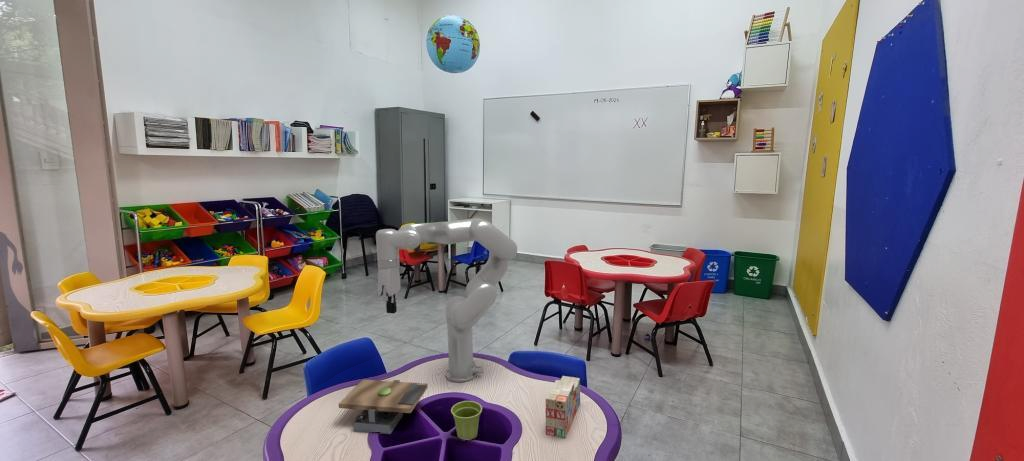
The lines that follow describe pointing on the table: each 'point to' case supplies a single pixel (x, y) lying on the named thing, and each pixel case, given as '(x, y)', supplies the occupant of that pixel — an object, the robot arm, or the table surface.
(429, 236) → the robot arm
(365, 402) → the plate
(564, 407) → the stack of blocks
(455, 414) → the plant pot
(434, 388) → the table surface
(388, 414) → the base
